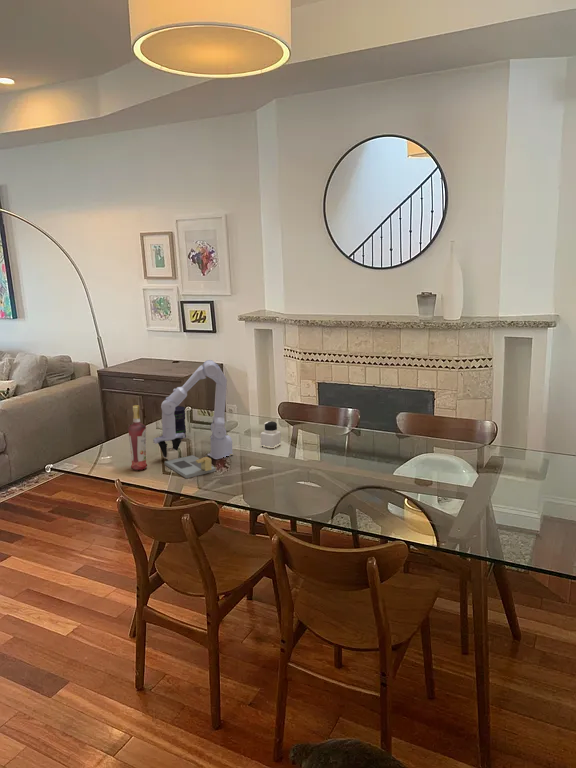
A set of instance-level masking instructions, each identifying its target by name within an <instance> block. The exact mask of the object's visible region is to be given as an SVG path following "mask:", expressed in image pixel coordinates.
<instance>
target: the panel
mask: <svg viewBox="0 0 576 768" xmlns="http://www.w3.org/2000/svg"><path fill="white" fill-rule="evenodd" d="M198 459H200V458H199V457H197V456H195V455H194V454H191V455H188V456H183V457H178V459H174V460H166V461H164V465H165V467H167V468H169V469H171V470H172V471H173V472H175V473H177V474H179V476H181V477H183V478H185V479H189V478H193V477H194V478H195V477H198V476H202V475H207V474H210V473H214V472H216V469H217V468H216V467H215V466H213V465H212V470H208V471H204V470H203V469H201V463H197V462H196V460H198Z"/></svg>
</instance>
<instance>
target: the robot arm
mask: <svg viewBox="0 0 576 768" xmlns="http://www.w3.org/2000/svg"><path fill="white" fill-rule="evenodd" d="M207 377H208V378H209V379H211V380H213V381H214V382H215V392H214V393H215V396H214V408H213V417H212V422H211V424H210V426H209V427H210V430H211V435H210V437H209V438H210V452H209V453H207V454H206V455H207V457H209V458H211V459H214V460H220V459H224V458H227V457H226V456H229V455H230V454H233V440H232V437H231V436H230V435H228V434H227V429H226V426H225V425H226V422H225V421H226V420H225V415H226V414H225V410H226V399H227V384H228V383H227V382H228V380H227V377H226V375H225V374H224V372H223V371H222V368H221V367H220V365H219V364H217V362H215V361H214V360H213V359H207V360H205V361H204V362H203V363H202V364H201V365H199V366H198V367H197V368H196V370H195V371H194V372H193V373H192V374H191V376H190V377H189V378H188V379H187V380H186V381H185V382H184V384H183V385H182V386H177V387H176V388H173V390H172V393H171V394H169V395H168V396H166V397H165V399H164V400H163V401H162V402H161V404H160V405H161V406H160V408H161V429H162V431H161V432H162V435H161V436H158V437H154V438H153V439H152V441H153V443H154V445H155V444H158V446H159V447H160V450H161V453H162V457H163V456H164V457H167V448H168V443H167V442H168V441H171V444H172V448H174V449H175V450H177V451H178V450H179V446H180V445H181V443H182V439H180V438H184V439H186V437H185V434H184V433H177V434H176V430H175V416H174V412H175V407H177V406H180V404H181V403H182V402H183V401H184V400H185V399H186V398H187V396H188V392H189V391H190V390H191V389H192V388H193V386H195V385H196V383H198V381H200V380H204V379H207ZM178 452H179V451H178ZM164 457H163V458H164ZM223 457H224V458H223ZM229 457H230V456H229Z"/></svg>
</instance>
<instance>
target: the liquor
mask: <svg viewBox="0 0 576 768" xmlns="http://www.w3.org/2000/svg"><path fill="white" fill-rule="evenodd" d="M132 412H133V421H132V423H131V424H129V425H128V427H127V428H128V429H127V430H128V438H129V439H128V440H129V447H130V457H131V459H130V460H131V465H130V467H131V469H133V470H134V471H137V470H140V471H144V470H145V469H146V468H147V467H148V464H147V456H146V455H147V447H146V446H147V426H146V425H145V424H144V423H141V417H140V405H137V404H135V405H132ZM143 469H144V470H143Z"/></svg>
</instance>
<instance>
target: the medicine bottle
mask: <svg viewBox="0 0 576 768" xmlns="http://www.w3.org/2000/svg"><path fill="white" fill-rule="evenodd" d="M263 428H264V429H263V430H264V431H262V432H260V446H261V445H265V446H270V447H274V446H275V445H277V444H279V443H281V442H282V441H281V439H282V438H281V435H282V434H281V431H280V430H278V424H277V422H275V421H273V420H272V421H266V422H264V425H263Z"/></svg>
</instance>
